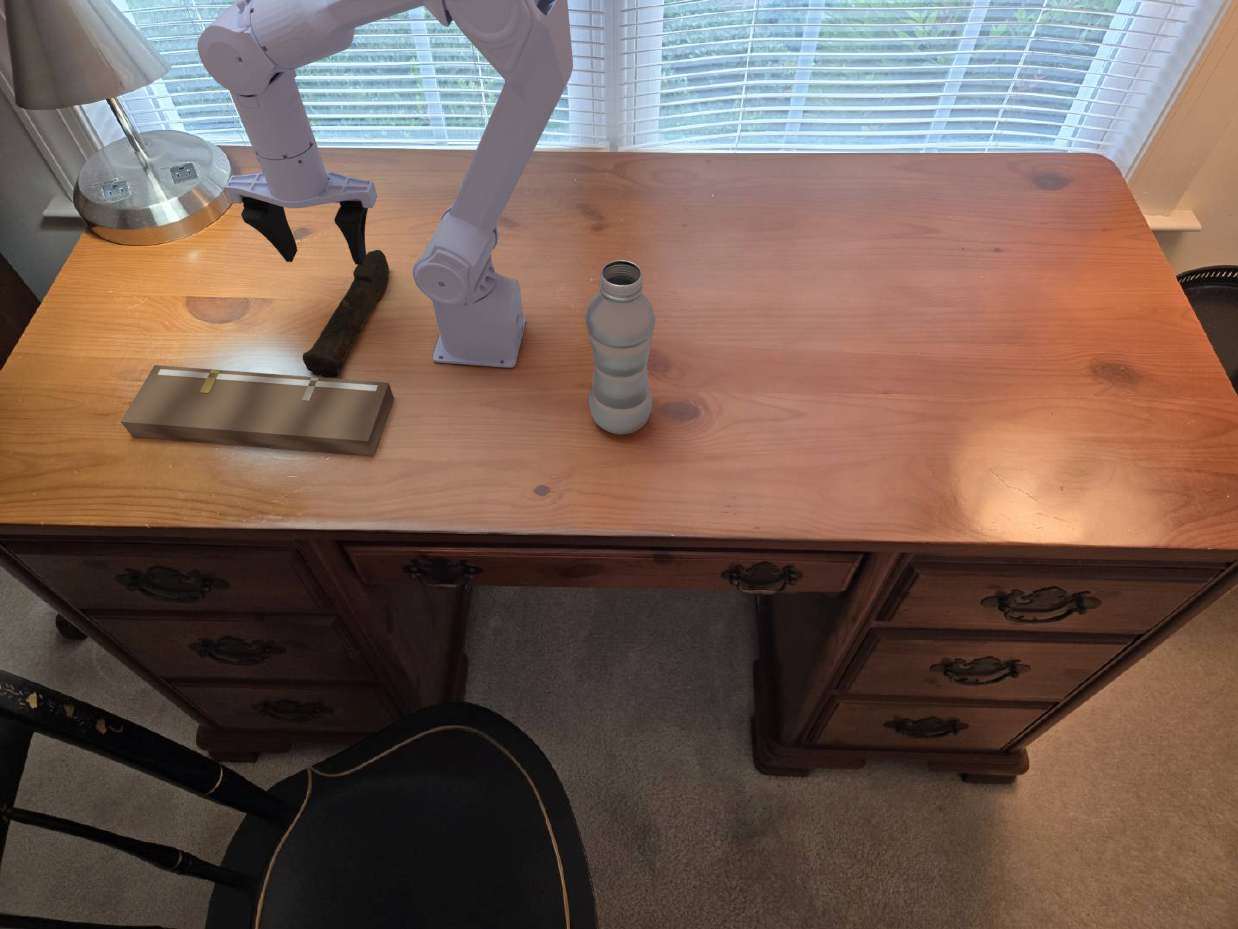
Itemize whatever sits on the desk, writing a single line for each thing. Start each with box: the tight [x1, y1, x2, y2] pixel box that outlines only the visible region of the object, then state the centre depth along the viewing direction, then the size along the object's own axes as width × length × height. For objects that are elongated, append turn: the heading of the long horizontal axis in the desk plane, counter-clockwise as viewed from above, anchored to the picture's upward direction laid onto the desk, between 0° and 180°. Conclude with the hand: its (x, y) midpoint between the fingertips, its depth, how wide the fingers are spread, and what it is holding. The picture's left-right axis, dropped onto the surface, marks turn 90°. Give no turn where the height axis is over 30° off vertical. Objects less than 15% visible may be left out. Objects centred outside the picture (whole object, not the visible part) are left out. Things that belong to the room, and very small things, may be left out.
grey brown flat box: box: [120, 364, 395, 457], centre depth 84 cm, size 26×8×3 cm, turn 85°
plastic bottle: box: [585, 259, 656, 436], centre depth 77 cm, size 6×7×20 cm
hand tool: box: [302, 249, 390, 379], centre depth 92 cm, size 19×4×5 cm, turn 165°
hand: (326, 257), depth 87 cm, fingers open, 7 cm apart
